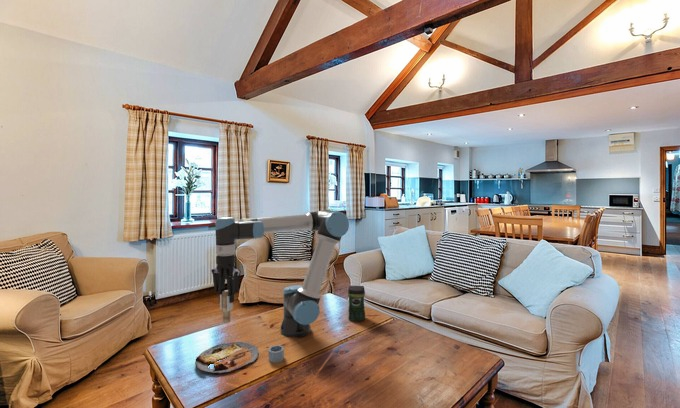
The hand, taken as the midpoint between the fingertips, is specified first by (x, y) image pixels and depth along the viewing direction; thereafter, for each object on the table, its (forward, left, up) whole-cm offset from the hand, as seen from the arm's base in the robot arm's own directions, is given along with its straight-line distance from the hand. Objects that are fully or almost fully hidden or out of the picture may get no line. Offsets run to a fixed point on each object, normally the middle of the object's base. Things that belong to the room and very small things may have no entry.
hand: (226, 309), depth 132 cm
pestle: (0, 0, -5) cm, 5 cm away
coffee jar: (-58, +40, -22) cm, 74 cm away
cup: (-6, +20, -22) cm, 30 cm away
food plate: (0, 0, -22) cm, 22 cm away
